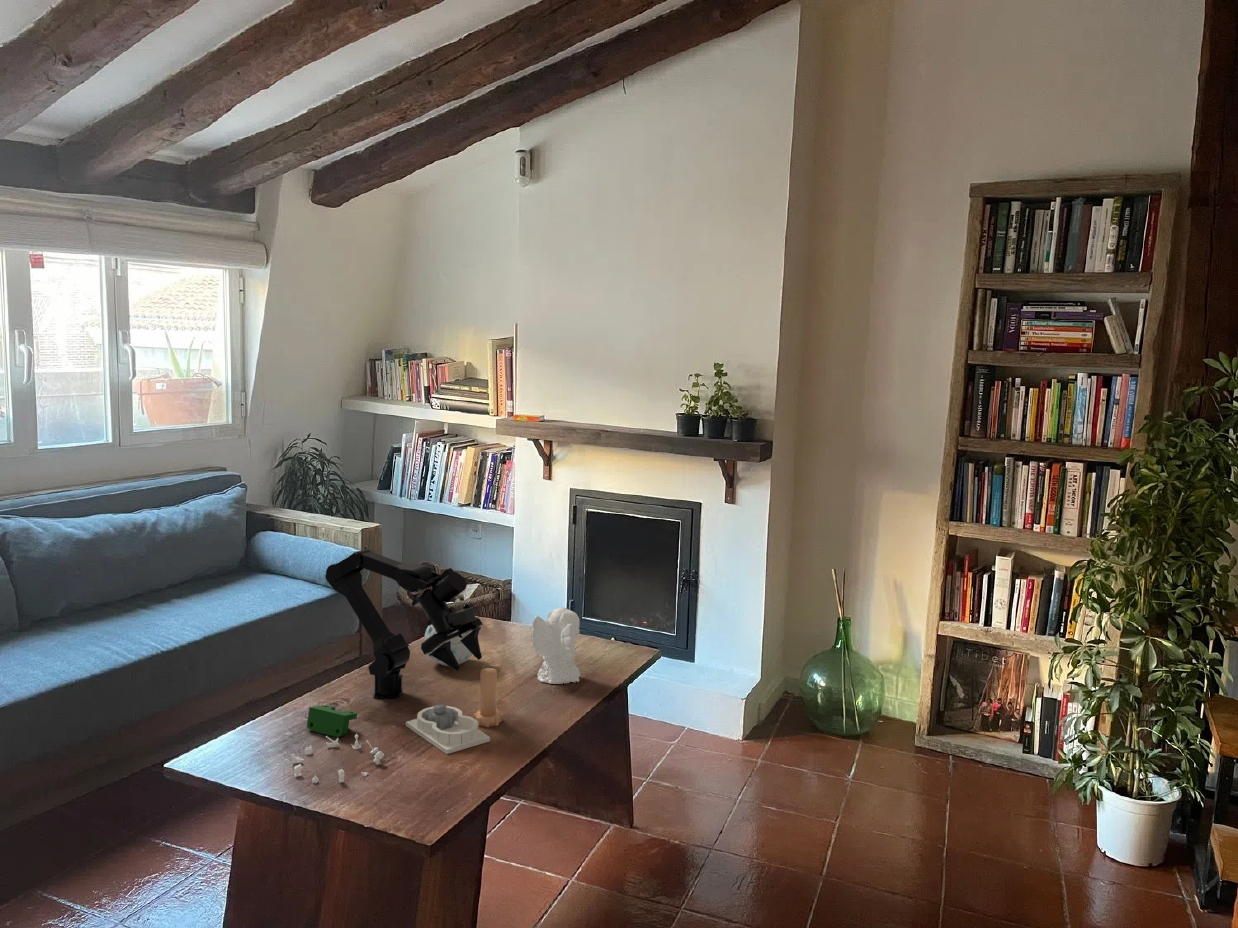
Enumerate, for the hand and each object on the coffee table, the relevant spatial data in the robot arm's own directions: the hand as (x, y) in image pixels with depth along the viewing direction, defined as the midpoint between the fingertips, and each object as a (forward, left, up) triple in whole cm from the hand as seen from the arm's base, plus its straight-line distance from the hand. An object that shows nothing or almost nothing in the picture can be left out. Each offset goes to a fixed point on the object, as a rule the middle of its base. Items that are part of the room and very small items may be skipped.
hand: (469, 664), depth 234 cm
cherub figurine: (+24, +23, -13) cm, 36 cm away
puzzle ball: (-7, +36, -13) cm, 39 cm away
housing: (-5, -11, -13) cm, 18 cm away
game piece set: (-28, -26, -14) cm, 40 cm away
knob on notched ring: (+5, -4, -13) cm, 15 cm away
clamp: (-32, -8, -13) cm, 35 cm away
